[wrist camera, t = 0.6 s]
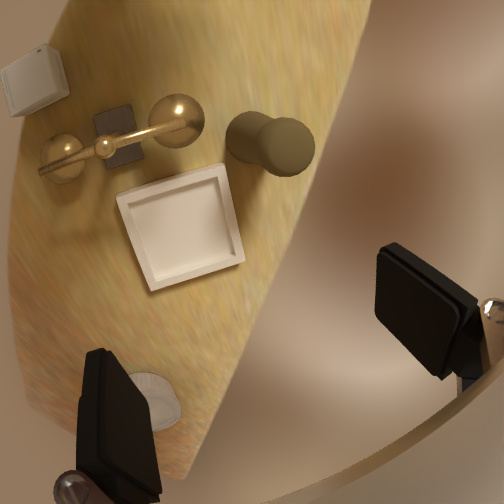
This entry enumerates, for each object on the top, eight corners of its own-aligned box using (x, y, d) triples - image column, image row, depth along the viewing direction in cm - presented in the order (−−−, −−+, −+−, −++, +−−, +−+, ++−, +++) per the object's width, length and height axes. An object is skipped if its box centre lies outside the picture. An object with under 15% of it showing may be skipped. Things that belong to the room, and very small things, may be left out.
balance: (43, 137, 26) (-8, 154, 15) (190, 87, 29) (211, 74, 18) (58, 187, 28) (18, 227, 18) (201, 140, 32) (227, 155, 21)
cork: (270, 167, 35) (316, 191, 26) (220, 158, 33) (250, 179, 24) (281, 117, 33) (333, 124, 24) (231, 106, 31) (267, 104, 22)
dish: (117, 193, 31) (115, 198, 30) (221, 162, 33) (224, 164, 32) (150, 283, 37) (151, 291, 35) (241, 254, 39) (245, 261, 38)
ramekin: (146, 415, 48) (149, 439, 43) (97, 388, 42) (96, 414, 37) (190, 387, 47) (196, 412, 43) (140, 355, 41) (142, 382, 37)
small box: (16, 73, 21) (-3, 69, 17) (60, 49, 22) (47, 40, 18) (27, 117, 24) (9, 119, 20) (71, 94, 25) (59, 92, 21)
